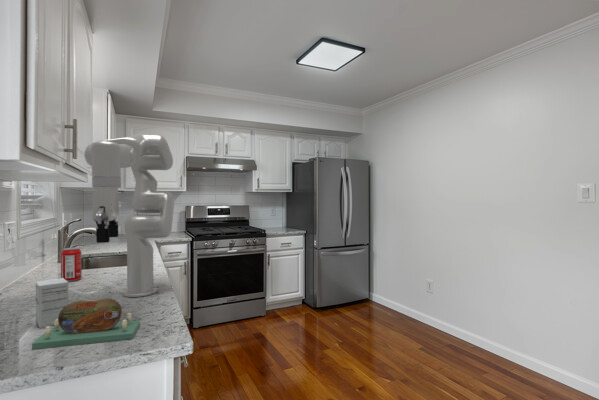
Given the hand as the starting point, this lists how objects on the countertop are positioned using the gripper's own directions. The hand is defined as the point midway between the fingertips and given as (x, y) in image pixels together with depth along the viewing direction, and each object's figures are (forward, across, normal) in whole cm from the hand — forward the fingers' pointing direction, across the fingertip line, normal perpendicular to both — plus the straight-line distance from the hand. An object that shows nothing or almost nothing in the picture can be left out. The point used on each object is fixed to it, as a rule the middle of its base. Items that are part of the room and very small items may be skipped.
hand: (108, 239), depth 100 cm
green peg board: (+25, +10, -2) cm, 27 cm away
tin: (+24, +10, -2) cm, 26 cm away
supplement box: (+26, -4, -17) cm, 31 cm away
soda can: (+29, -62, -32) cm, 76 cm away
